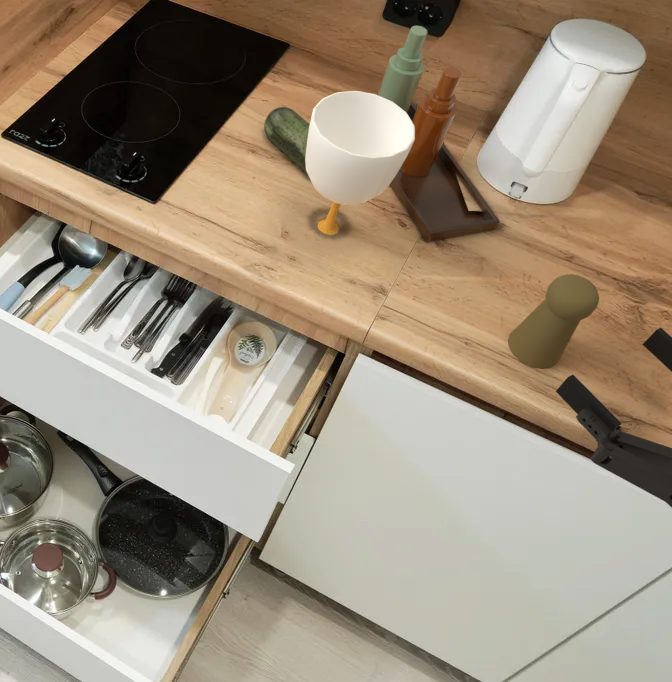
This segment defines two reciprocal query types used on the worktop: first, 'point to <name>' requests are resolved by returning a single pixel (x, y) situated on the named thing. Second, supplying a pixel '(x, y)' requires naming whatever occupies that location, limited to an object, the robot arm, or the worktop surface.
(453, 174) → the tray
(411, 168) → the amber bottle
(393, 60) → the sage bottle
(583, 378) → the worktop surface
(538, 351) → the olive pepper shaker
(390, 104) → the cup
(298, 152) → the vegetable
